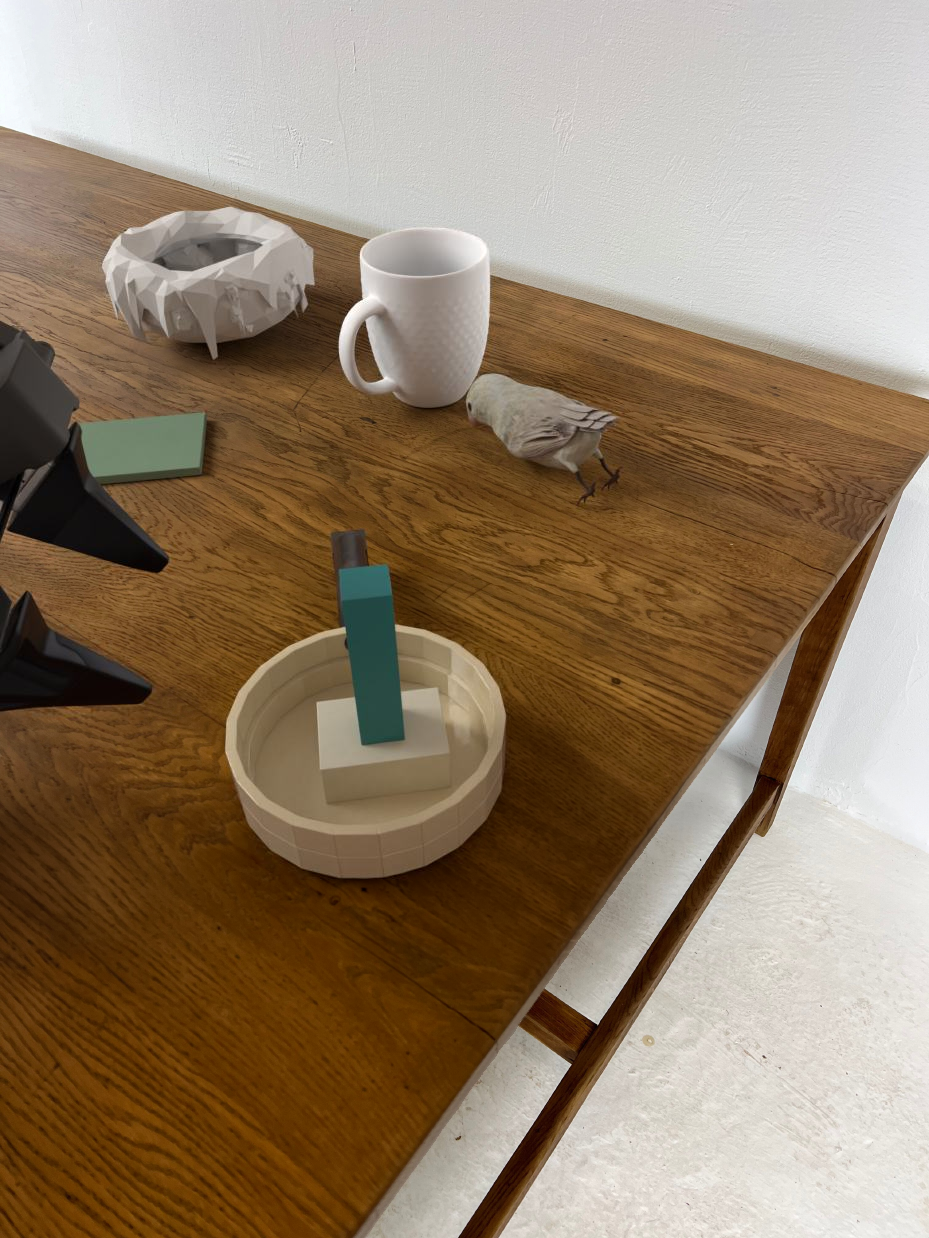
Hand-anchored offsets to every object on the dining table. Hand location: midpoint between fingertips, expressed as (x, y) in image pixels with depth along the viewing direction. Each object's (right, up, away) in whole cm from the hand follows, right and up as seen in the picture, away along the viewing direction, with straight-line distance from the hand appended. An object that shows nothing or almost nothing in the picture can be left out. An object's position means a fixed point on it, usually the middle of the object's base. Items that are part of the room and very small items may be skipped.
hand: (156, 625), depth 45 cm
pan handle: (+8, 0, +18) cm, 20 cm away
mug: (+11, +21, +42) cm, 48 cm away
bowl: (-11, +30, +53) cm, 61 cm away
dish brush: (+10, -8, +9) cm, 16 cm away
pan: (+9, -8, +10) cm, 16 cm away
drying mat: (-13, +15, +35) cm, 40 cm away
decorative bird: (+21, +13, +33) cm, 41 cm away
